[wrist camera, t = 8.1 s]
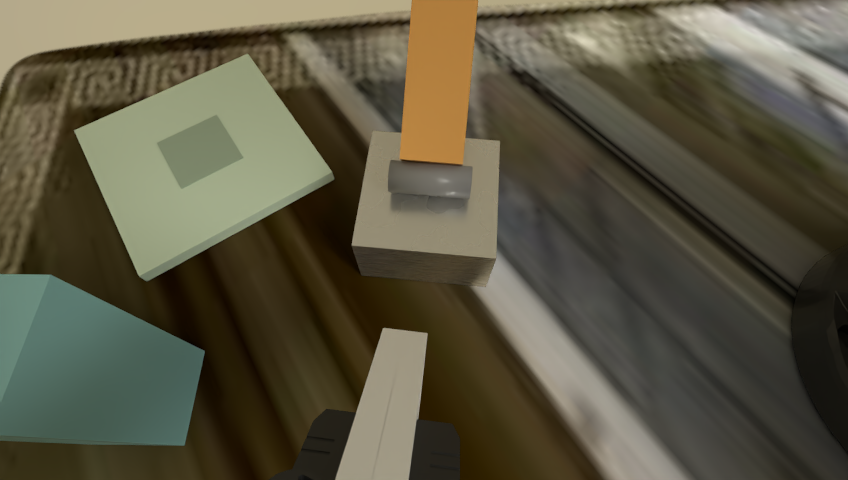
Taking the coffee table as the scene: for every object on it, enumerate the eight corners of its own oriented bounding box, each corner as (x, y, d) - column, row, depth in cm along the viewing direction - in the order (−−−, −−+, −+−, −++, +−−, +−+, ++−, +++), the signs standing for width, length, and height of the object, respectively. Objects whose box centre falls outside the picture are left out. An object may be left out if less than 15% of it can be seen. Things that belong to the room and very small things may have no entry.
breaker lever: (470, 199, 22) (491, -23, 21) (386, 192, 22) (403, -29, 21) (468, 198, 24) (487, -4, 23) (391, 192, 24) (407, -10, 23)
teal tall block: (204, 351, 24) (25, 262, 13) (184, 445, 22) (-48, 432, 11) (118, 350, 24) (-133, 259, 13) (91, 444, 22) (-232, 430, 11)
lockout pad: (251, 62, 33) (247, 52, 32) (334, 179, 28) (332, 171, 28) (82, 138, 30) (73, 129, 29) (146, 281, 25) (137, 275, 25)
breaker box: (485, 286, 25) (496, 258, 22) (361, 275, 26) (351, 245, 22) (490, 178, 29) (500, 137, 25) (378, 169, 29) (373, 127, 25)
